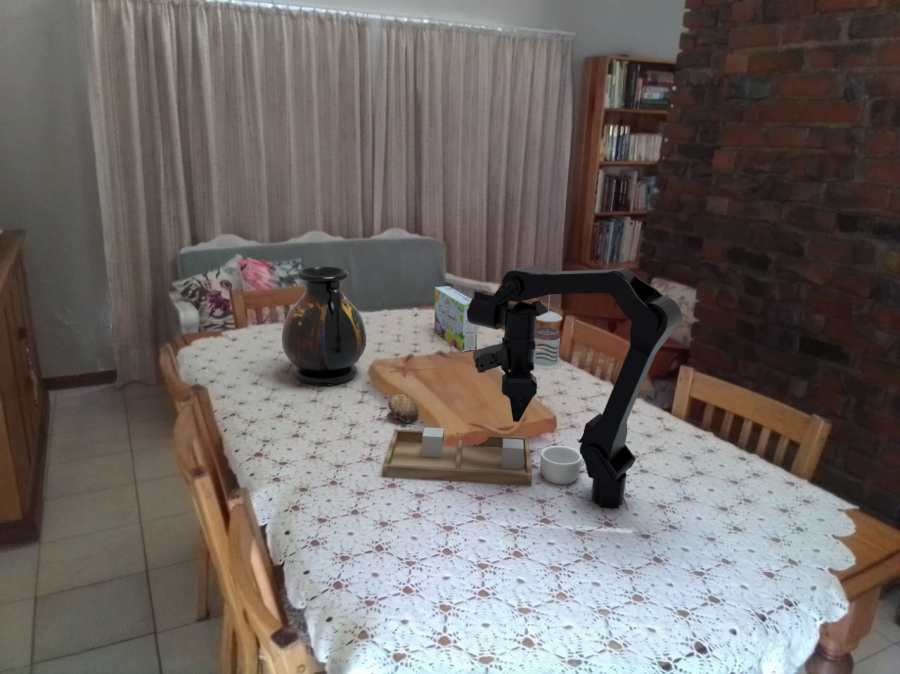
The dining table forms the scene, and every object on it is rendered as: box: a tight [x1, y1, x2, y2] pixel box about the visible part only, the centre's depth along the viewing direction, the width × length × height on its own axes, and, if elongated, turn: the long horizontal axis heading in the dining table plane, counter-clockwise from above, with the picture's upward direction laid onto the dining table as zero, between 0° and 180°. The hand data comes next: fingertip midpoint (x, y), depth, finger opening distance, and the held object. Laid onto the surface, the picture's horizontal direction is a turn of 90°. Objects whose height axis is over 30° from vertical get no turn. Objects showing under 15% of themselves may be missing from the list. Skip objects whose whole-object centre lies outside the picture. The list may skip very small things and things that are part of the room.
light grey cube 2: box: [502, 438, 524, 470], centre depth 134 cm, size 4×4×4 cm
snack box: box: [434, 285, 478, 352], centre depth 209 cm, size 21×6×15 cm, turn 25°
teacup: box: [540, 445, 585, 485], centre depth 131 cm, size 10×8×5 cm
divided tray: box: [382, 428, 533, 487], centre depth 135 cm, size 16×28×3 cm, turn 86°
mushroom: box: [386, 393, 419, 424], centre depth 154 cm, size 8×8×6 cm
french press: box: [533, 294, 563, 370], centre depth 190 cm, size 10×12×25 cm
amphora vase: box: [281, 266, 367, 386], centre depth 175 cm, size 22×22×28 cm
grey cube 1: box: [422, 426, 445, 458], centre depth 138 cm, size 4×4×4 cm
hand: (515, 411), depth 131 cm, fingers open, 9 cm apart
